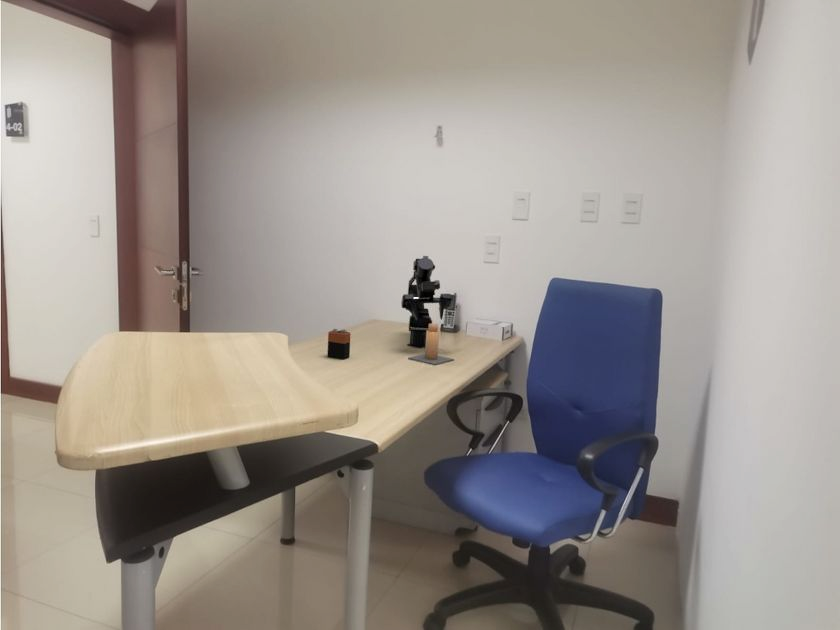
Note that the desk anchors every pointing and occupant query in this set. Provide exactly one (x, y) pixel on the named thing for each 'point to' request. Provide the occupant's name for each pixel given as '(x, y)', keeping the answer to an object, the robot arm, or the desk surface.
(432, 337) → the peach capped bottle
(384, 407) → the desk surface
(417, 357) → the mat
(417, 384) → the desk surface
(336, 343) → the battery
